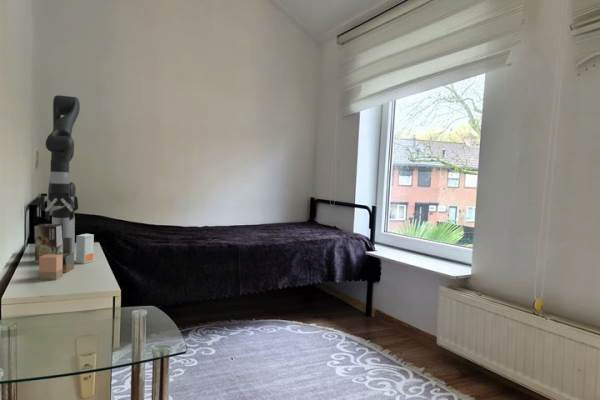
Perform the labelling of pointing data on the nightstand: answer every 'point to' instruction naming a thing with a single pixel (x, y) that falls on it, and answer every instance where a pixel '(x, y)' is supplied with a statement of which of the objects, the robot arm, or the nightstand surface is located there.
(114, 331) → the nightstand surface
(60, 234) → the coffee box
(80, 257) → the skincare box
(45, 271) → the peach rectangular block
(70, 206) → the robot arm
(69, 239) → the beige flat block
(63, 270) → the sleeve
